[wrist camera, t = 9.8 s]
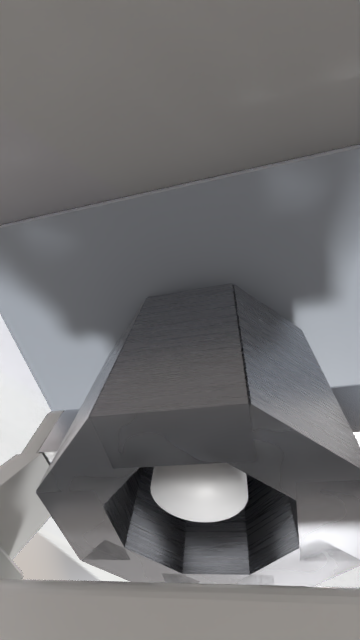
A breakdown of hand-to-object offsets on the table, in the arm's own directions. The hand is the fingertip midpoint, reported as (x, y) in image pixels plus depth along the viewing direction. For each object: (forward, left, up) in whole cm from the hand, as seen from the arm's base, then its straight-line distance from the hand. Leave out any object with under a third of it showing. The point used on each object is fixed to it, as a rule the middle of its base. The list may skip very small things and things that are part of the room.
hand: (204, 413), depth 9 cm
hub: (0, 0, -2) cm, 2 cm away
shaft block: (0, 0, -4) cm, 4 cm away
